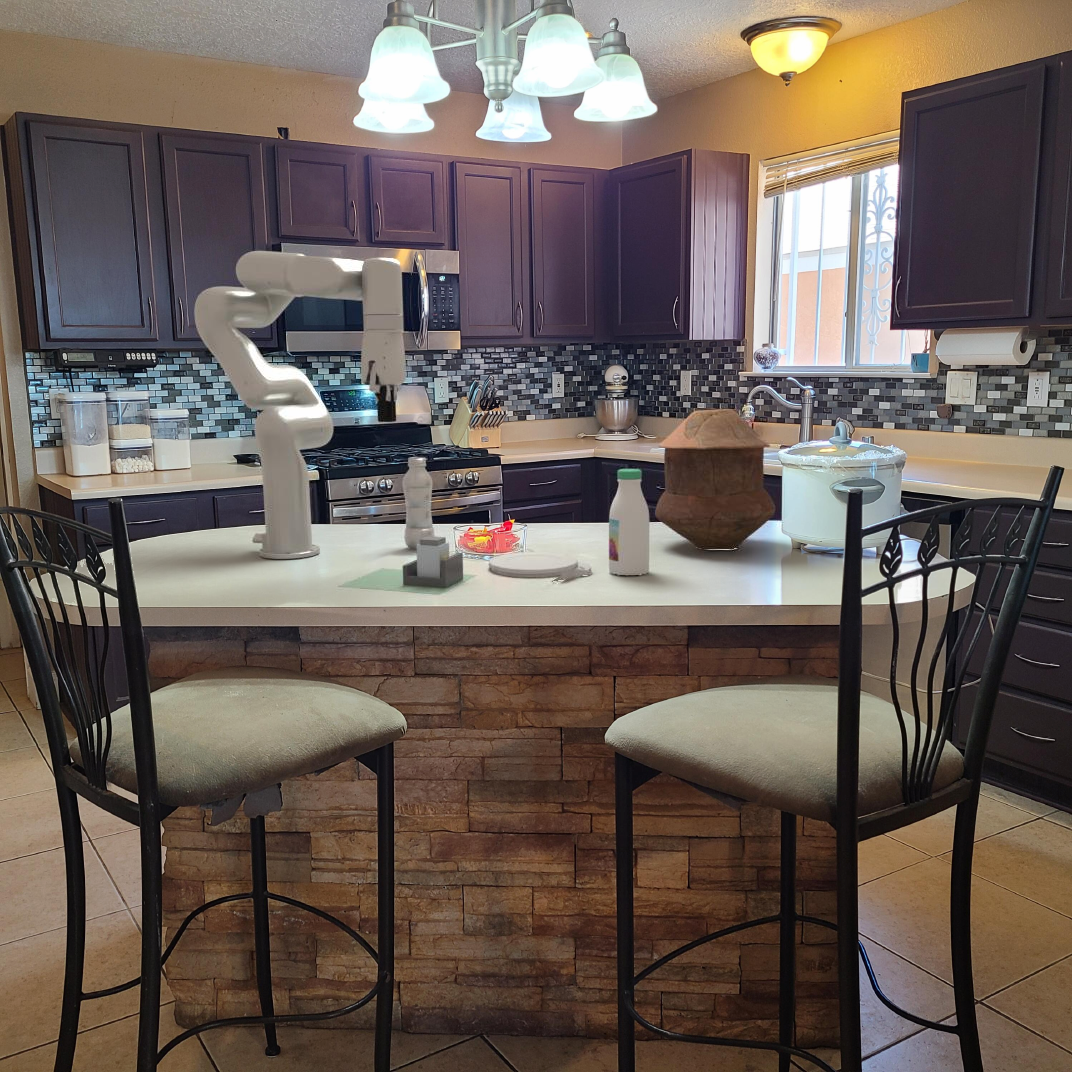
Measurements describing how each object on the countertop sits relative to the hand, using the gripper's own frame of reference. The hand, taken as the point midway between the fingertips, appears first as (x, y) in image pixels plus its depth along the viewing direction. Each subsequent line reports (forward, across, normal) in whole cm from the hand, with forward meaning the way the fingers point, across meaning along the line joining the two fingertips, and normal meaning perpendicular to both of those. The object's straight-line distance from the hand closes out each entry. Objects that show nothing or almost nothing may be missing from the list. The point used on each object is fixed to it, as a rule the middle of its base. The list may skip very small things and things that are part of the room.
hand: (387, 421), depth 193 cm
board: (+29, +14, +11) cm, 34 cm away
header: (+28, +14, +16) cm, 35 cm away
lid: (+30, -4, +30) cm, 42 cm away
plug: (+28, +14, +16) cm, 35 cm away
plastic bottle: (+29, -20, -4) cm, 36 cm away
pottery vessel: (+29, -40, +57) cm, 76 cm away
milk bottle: (+29, -10, +46) cm, 55 cm away
